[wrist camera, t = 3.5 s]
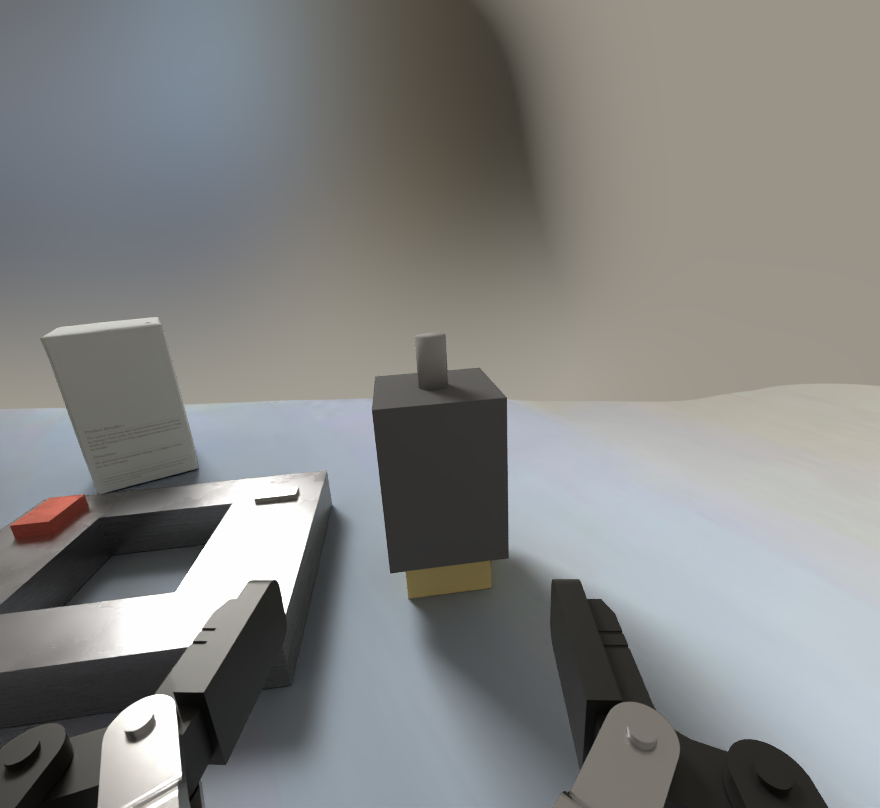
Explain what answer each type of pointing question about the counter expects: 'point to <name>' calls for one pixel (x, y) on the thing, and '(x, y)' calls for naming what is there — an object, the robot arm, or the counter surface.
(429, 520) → the plug
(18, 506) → the counter surface
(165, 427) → the supplement box
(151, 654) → the socket
